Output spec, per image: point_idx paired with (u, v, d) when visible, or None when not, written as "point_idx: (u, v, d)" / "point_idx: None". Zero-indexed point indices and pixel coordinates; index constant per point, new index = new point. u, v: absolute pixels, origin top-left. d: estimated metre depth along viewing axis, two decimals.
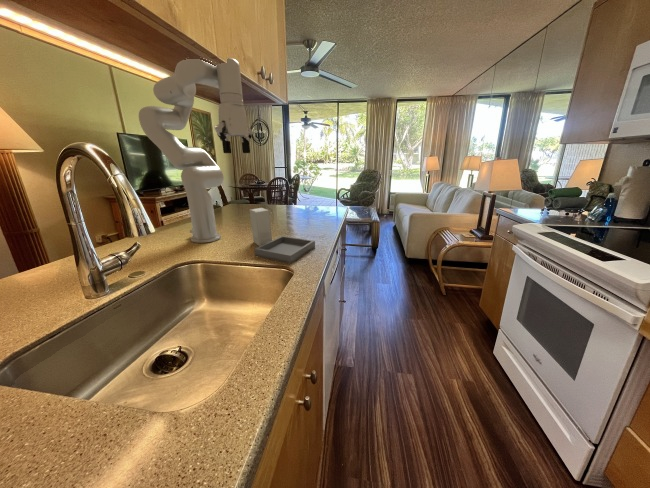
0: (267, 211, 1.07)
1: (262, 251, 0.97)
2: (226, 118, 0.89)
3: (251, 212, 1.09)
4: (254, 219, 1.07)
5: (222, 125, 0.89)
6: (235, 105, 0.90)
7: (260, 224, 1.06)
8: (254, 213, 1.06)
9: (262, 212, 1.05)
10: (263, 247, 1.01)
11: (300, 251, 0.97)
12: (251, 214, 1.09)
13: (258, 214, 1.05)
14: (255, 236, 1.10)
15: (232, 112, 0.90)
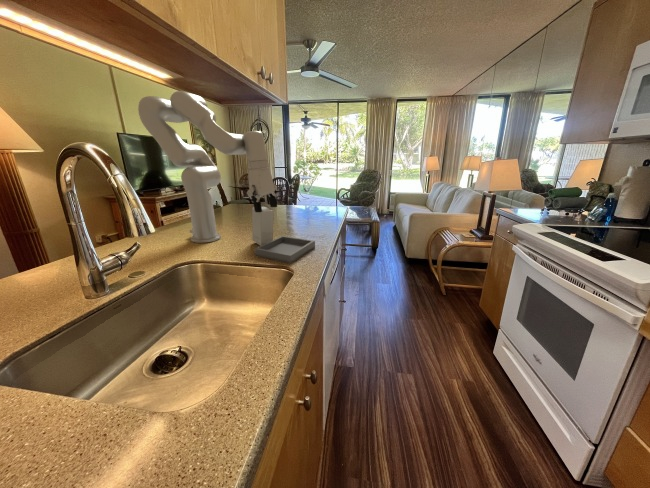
0: (272, 211, 1.06)
1: (262, 251, 0.97)
2: (256, 183, 0.99)
3: (254, 210, 1.07)
4: (258, 218, 1.06)
5: (253, 189, 0.99)
6: (262, 169, 1.00)
7: (263, 224, 1.06)
8: (259, 212, 1.04)
9: (267, 212, 1.05)
10: (263, 247, 1.01)
11: (300, 251, 0.97)
12: (254, 212, 1.08)
13: (263, 214, 1.04)
14: (256, 235, 1.09)
15: (260, 176, 1.00)
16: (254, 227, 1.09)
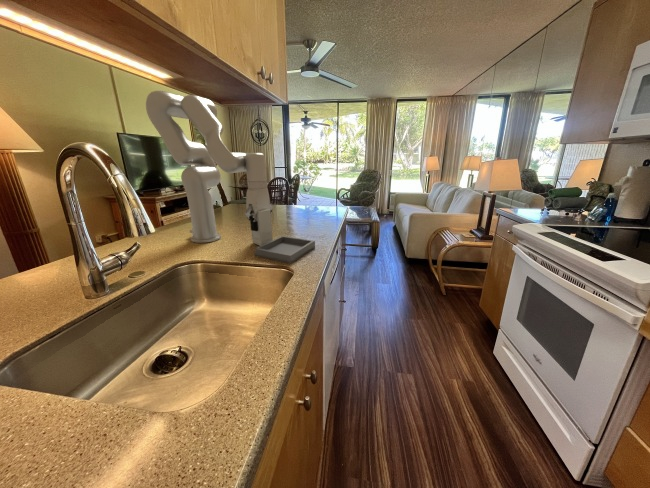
0: (269, 211, 1.07)
1: (262, 251, 0.97)
2: (253, 203, 1.02)
3: None
4: None
5: (250, 209, 1.03)
6: (260, 190, 1.04)
7: (262, 224, 1.06)
8: None
9: (264, 212, 1.05)
10: (263, 247, 1.01)
11: (300, 251, 0.97)
12: None
13: (261, 214, 1.05)
14: (255, 236, 1.10)
15: (258, 196, 1.03)
16: None
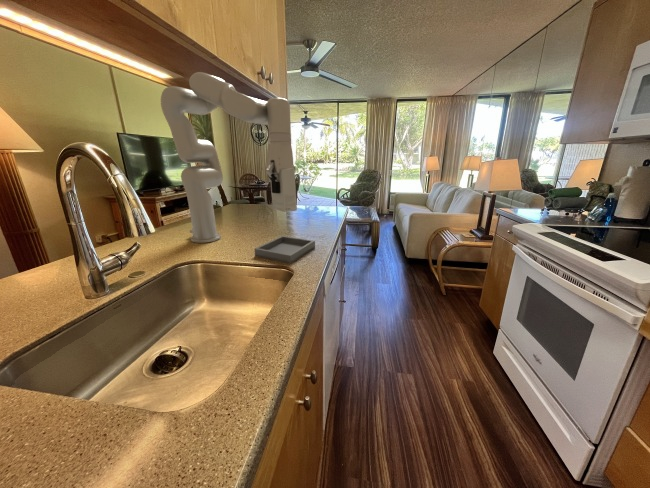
0: (293, 170, 0.92)
1: (262, 251, 0.97)
2: (276, 158, 0.87)
3: None
4: None
5: (272, 166, 0.88)
6: (284, 144, 0.88)
7: (285, 185, 0.91)
8: None
9: (287, 170, 0.90)
10: (263, 247, 1.01)
11: (300, 251, 0.97)
12: None
13: (284, 172, 0.90)
14: (277, 200, 0.94)
15: (281, 151, 0.88)
16: None
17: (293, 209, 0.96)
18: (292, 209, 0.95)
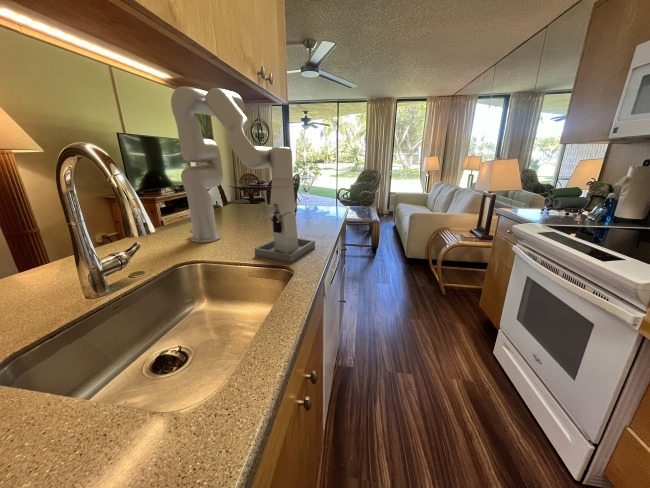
0: (294, 214, 0.97)
1: (262, 251, 0.97)
2: (279, 202, 0.92)
3: None
4: None
5: (275, 209, 0.92)
6: (286, 188, 0.93)
7: (287, 229, 0.96)
8: None
9: (289, 216, 0.96)
10: (263, 247, 1.01)
11: (300, 251, 0.97)
12: None
13: (286, 218, 0.95)
14: (279, 242, 1.00)
15: (284, 195, 0.93)
16: (276, 234, 1.00)
17: (295, 250, 1.01)
18: (294, 250, 1.01)
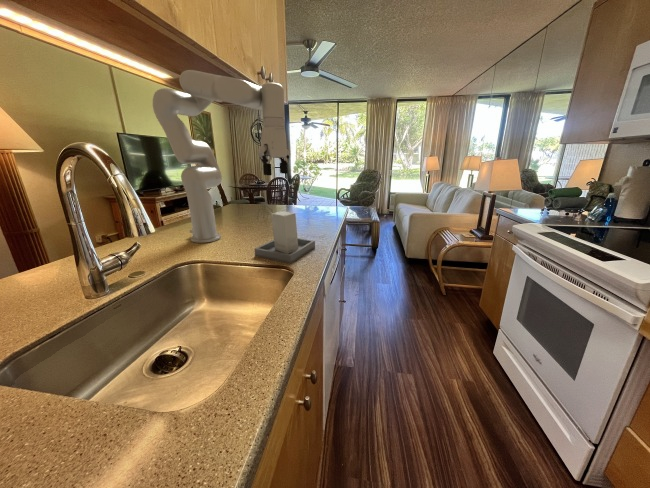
0: (294, 214, 0.97)
1: (262, 251, 0.97)
2: (269, 142, 0.90)
3: (274, 216, 0.98)
4: (280, 224, 0.96)
5: (265, 148, 0.90)
6: (277, 128, 0.91)
7: (287, 229, 0.96)
8: (280, 217, 0.95)
9: (289, 216, 0.96)
10: (263, 247, 1.01)
11: (300, 251, 0.97)
12: (274, 218, 0.98)
13: (286, 218, 0.95)
14: (279, 242, 1.00)
15: (274, 135, 0.91)
16: (276, 234, 1.00)
17: (295, 250, 1.01)
18: (294, 250, 1.01)
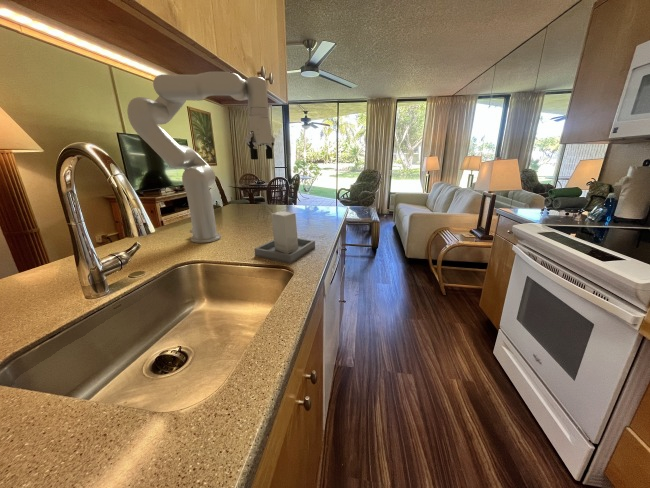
0: (294, 214, 0.97)
1: (262, 251, 0.97)
2: (255, 129, 1.02)
3: (274, 216, 0.98)
4: (280, 224, 0.96)
5: (251, 135, 1.01)
6: (262, 117, 1.03)
7: (287, 229, 0.96)
8: (280, 217, 0.95)
9: (289, 216, 0.96)
10: (263, 247, 1.01)
11: (300, 251, 0.97)
12: (274, 218, 0.98)
13: (286, 218, 0.95)
14: (279, 242, 1.00)
15: (259, 123, 1.02)
16: (276, 234, 1.00)
17: (295, 250, 1.01)
18: (294, 250, 1.01)
